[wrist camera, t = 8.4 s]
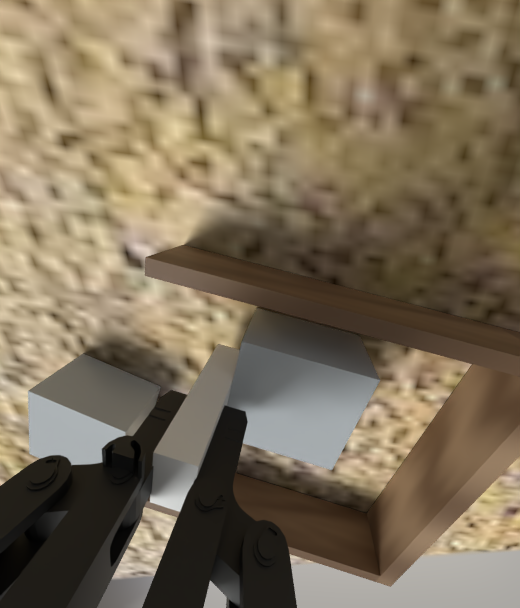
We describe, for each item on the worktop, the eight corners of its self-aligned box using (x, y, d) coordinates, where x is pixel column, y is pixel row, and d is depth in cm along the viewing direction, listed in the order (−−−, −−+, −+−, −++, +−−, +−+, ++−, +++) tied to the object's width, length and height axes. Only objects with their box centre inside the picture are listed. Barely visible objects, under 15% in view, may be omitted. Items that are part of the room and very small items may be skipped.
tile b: (85, 352, 17) (28, 390, 14) (162, 384, 18) (125, 432, 14) (79, 408, 20) (29, 454, 16) (147, 436, 20) (112, 489, 16)
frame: (183, 244, 13) (145, 257, 10) (519, 332, 12) (597, 377, 9) (163, 456, 20) (137, 504, 17) (375, 523, 19) (390, 586, 16)
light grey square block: (256, 306, 14) (241, 341, 10) (358, 333, 14) (380, 380, 10) (237, 384, 16) (220, 436, 13) (324, 410, 16) (331, 469, 12)
